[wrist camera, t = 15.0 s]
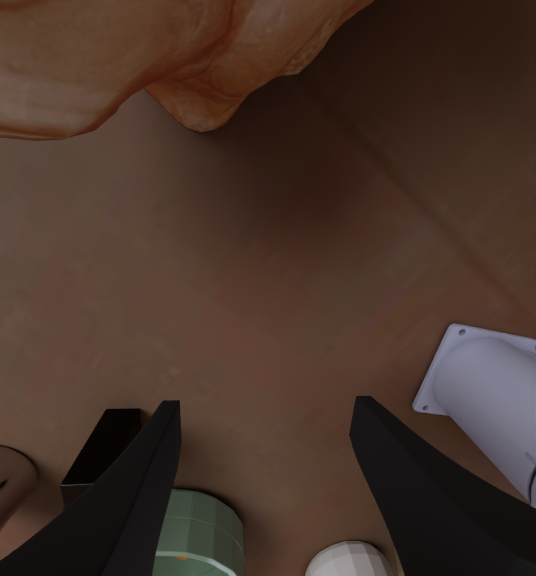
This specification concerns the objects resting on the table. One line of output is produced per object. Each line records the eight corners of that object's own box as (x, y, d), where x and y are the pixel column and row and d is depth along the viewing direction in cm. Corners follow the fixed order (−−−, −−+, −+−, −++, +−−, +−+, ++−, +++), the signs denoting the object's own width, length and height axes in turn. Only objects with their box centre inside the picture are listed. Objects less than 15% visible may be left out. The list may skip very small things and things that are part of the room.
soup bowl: (258, 488, 26) (263, 555, 22) (229, 582, 30) (228, 655, 26) (100, 477, 24) (68, 548, 19) (91, 580, 28) (62, 659, 23)
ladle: (156, 559, 27) (134, 665, 21) (114, 562, 26) (78, 672, 20) (148, 407, 22) (116, 486, 16) (97, 408, 22) (44, 489, 16)
